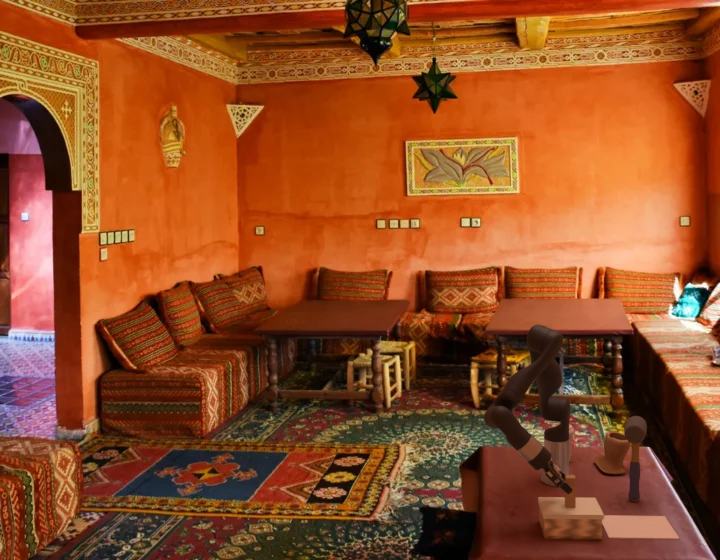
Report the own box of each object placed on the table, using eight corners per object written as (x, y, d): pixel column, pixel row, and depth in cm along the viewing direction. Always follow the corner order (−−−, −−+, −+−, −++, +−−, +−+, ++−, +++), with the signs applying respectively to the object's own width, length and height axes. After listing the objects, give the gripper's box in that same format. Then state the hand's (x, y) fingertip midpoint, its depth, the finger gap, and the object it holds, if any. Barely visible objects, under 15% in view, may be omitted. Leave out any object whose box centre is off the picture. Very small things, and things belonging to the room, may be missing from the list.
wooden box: (544, 538, 265) (544, 518, 264) (539, 521, 277) (539, 501, 276) (601, 539, 263) (602, 518, 262) (593, 522, 276) (594, 502, 275)
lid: (543, 521, 263) (543, 484, 262) (537, 504, 277) (538, 468, 276) (604, 522, 262) (604, 484, 260) (595, 504, 276) (595, 469, 274)
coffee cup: (574, 458, 337) (575, 423, 335) (572, 466, 328) (573, 430, 326) (551, 456, 340) (551, 421, 338) (548, 464, 331) (548, 428, 329)
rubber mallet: (644, 508, 286) (646, 425, 282) (621, 505, 289) (623, 423, 285) (646, 495, 297) (648, 415, 293) (624, 492, 300) (626, 413, 296)
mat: (609, 538, 264) (609, 537, 264) (598, 516, 281) (598, 515, 280) (679, 539, 262) (679, 538, 262) (664, 517, 279) (664, 516, 279)
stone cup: (633, 476, 316) (634, 438, 314) (602, 476, 316) (602, 439, 314) (622, 462, 331) (623, 426, 329) (592, 462, 331) (593, 426, 329)
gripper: (543, 452, 261) (580, 488, 261) (540, 437, 275) (575, 471, 275) (526, 467, 262) (562, 503, 262) (524, 452, 276) (559, 486, 276)
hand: (569, 487), depth 268 cm, fingers open, 8 cm apart
